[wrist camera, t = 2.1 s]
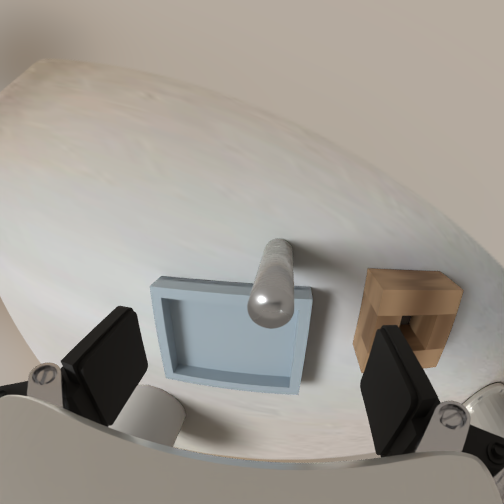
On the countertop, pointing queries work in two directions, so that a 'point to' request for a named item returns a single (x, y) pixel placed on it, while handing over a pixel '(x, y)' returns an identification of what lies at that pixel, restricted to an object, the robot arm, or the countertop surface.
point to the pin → (273, 287)
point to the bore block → (408, 311)
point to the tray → (227, 336)
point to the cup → (151, 416)
